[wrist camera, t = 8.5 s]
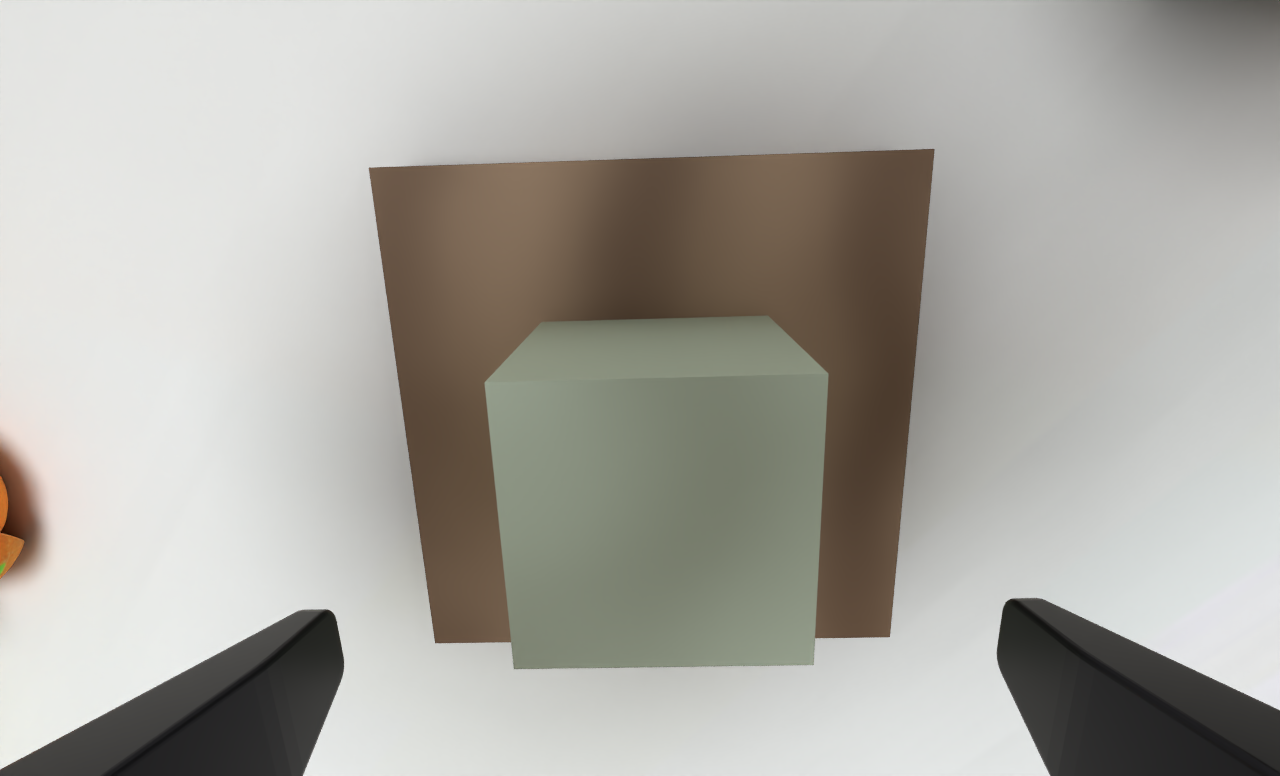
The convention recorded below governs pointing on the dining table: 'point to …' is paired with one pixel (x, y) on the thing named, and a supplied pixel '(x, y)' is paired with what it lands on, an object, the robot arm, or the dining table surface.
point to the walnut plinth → (655, 289)
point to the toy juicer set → (7, 536)
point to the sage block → (659, 493)
